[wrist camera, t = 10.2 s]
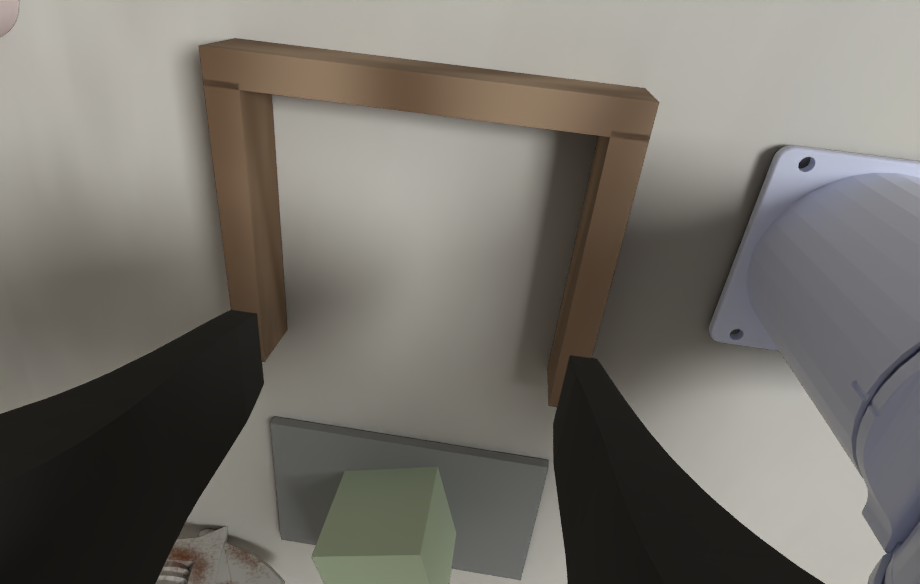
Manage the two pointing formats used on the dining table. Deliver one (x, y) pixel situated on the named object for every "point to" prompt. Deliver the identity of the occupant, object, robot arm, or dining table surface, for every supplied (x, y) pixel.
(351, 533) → the cube
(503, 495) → the mat
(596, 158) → the wooden u-shaped frame
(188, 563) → the wrench
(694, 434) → the dining table surface
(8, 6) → the smoothie
